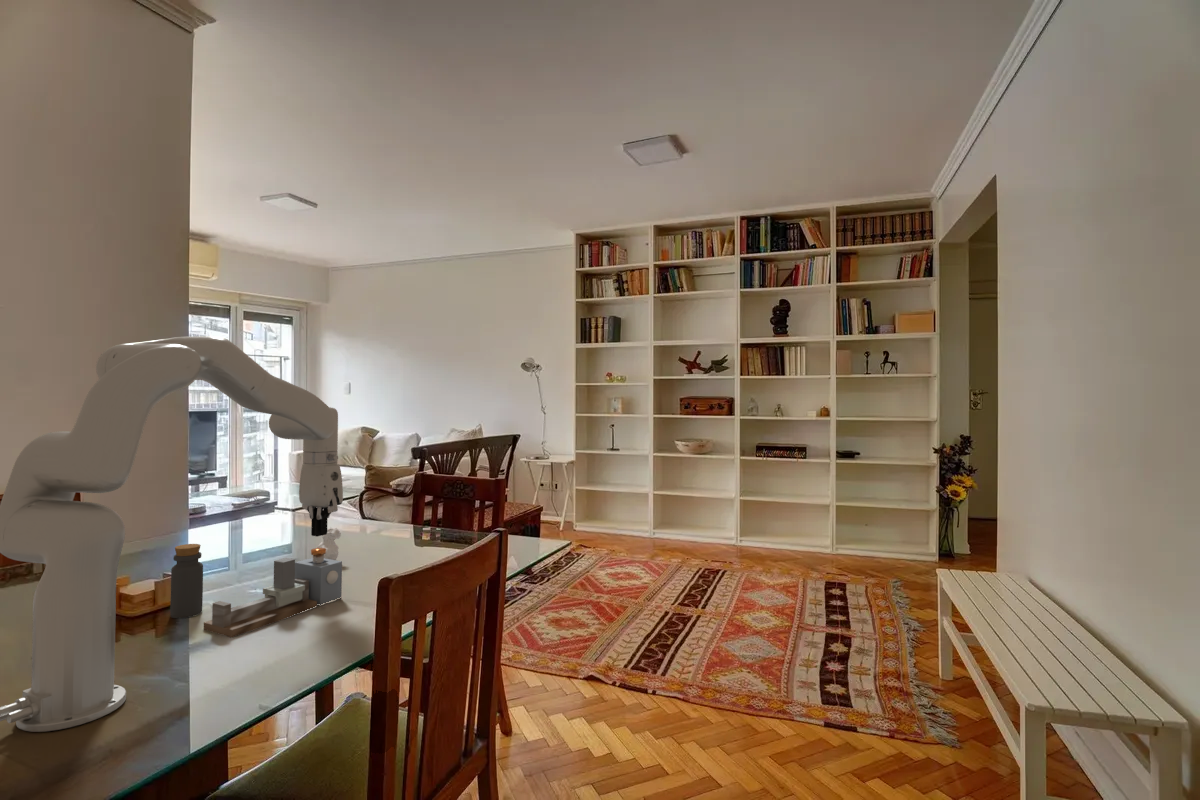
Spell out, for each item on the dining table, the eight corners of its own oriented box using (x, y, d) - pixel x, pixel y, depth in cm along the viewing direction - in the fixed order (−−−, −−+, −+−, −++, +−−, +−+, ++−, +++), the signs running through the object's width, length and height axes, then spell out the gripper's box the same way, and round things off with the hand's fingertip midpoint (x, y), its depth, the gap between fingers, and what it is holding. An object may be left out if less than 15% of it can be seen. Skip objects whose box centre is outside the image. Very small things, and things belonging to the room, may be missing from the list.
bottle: (186, 619, 130) (187, 550, 130) (163, 617, 131) (164, 548, 131) (208, 610, 136) (210, 543, 136) (186, 608, 137) (188, 542, 137)
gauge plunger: (317, 574, 142) (317, 551, 142) (307, 573, 144) (308, 550, 144) (328, 571, 145) (328, 548, 145) (318, 569, 147) (319, 547, 147)
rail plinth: (231, 637, 121) (232, 607, 121) (203, 629, 125) (204, 601, 125) (316, 607, 139) (317, 581, 139) (289, 601, 143) (290, 576, 143)
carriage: (280, 607, 132) (281, 564, 132) (262, 603, 135) (263, 561, 135) (304, 599, 138) (305, 558, 138) (286, 595, 140) (287, 555, 140)
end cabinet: (321, 606, 140) (322, 567, 140) (293, 600, 144) (294, 562, 144) (342, 599, 145) (343, 561, 145) (314, 593, 149) (315, 556, 149)
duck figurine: (328, 575, 172) (355, 542, 175) (305, 561, 169) (333, 527, 172) (324, 565, 182) (349, 534, 185) (302, 552, 179) (328, 520, 182)
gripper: (355, 459, 145) (354, 535, 145) (311, 455, 151) (310, 528, 151) (329, 461, 138) (328, 542, 138) (285, 458, 144) (283, 534, 144)
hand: (319, 534), depth 145 cm, fingers closed
